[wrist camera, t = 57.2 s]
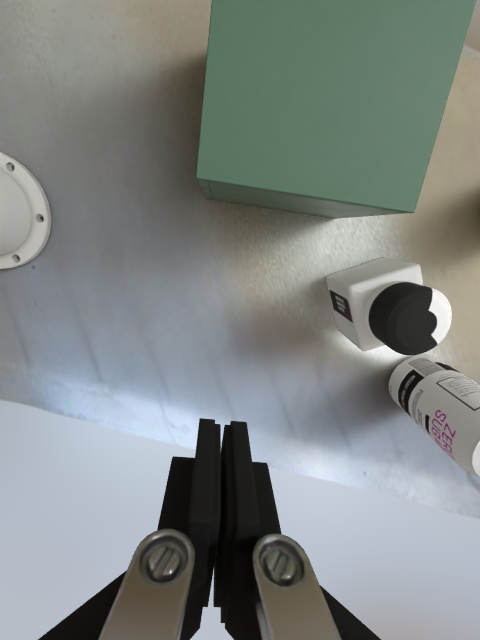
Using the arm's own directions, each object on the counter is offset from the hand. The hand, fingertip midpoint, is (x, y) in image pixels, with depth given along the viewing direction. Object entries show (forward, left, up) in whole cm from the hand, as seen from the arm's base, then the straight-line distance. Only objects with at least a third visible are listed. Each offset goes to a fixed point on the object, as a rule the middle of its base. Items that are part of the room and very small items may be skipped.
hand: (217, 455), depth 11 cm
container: (+18, +2, -29) cm, 34 cm away
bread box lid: (+5, +18, -14) cm, 24 cm away
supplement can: (+29, -9, -29) cm, 42 cm away
